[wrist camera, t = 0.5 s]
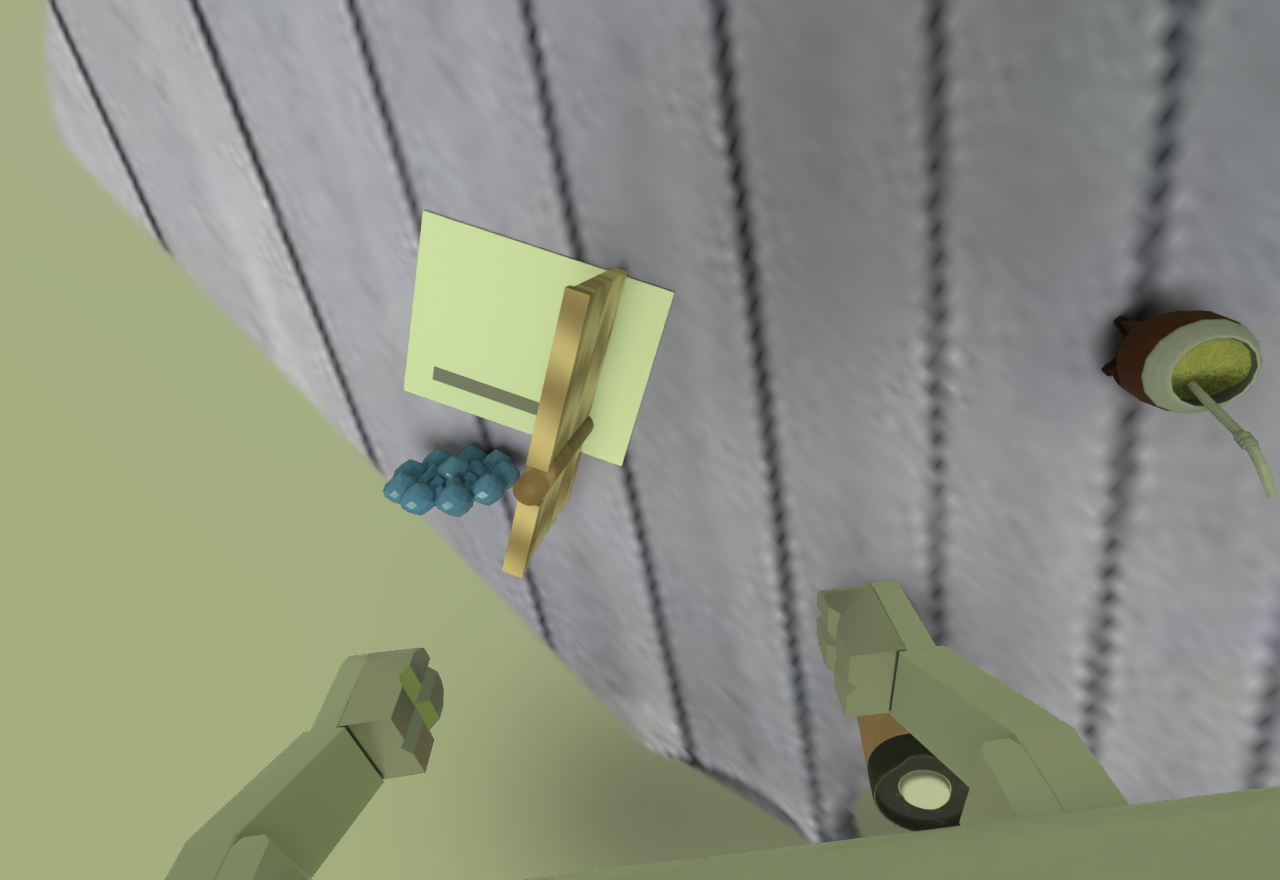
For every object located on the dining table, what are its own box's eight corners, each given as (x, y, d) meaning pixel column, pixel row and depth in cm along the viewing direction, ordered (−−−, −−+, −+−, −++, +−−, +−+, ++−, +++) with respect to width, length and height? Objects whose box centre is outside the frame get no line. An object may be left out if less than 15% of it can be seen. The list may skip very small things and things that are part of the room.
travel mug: (882, 657, 61) (933, 850, 43) (823, 620, 61) (849, 799, 43) (934, 612, 58) (1012, 800, 40) (871, 573, 58) (921, 744, 40)
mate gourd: (1159, 280, 44) (1338, 317, 30) (1222, 352, 45) (1423, 419, 31) (1065, 349, 47) (1189, 411, 33) (1126, 415, 48) (1271, 501, 34)
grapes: (434, 482, 64) (367, 541, 53) (428, 426, 61) (356, 476, 50) (534, 496, 62) (485, 560, 51) (532, 439, 59) (481, 493, 48)
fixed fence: (574, 408, 57) (516, 473, 43) (597, 415, 57) (545, 484, 43) (553, 492, 61) (493, 576, 48) (574, 500, 61) (520, 586, 48)
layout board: (425, 210, 52) (422, 210, 52) (674, 292, 51) (674, 293, 50) (405, 388, 60) (403, 390, 59) (622, 464, 58) (621, 466, 58)
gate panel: (611, 266, 50) (565, 287, 38) (630, 272, 50) (590, 295, 38) (575, 408, 56) (525, 464, 44) (592, 414, 56) (547, 472, 44)
